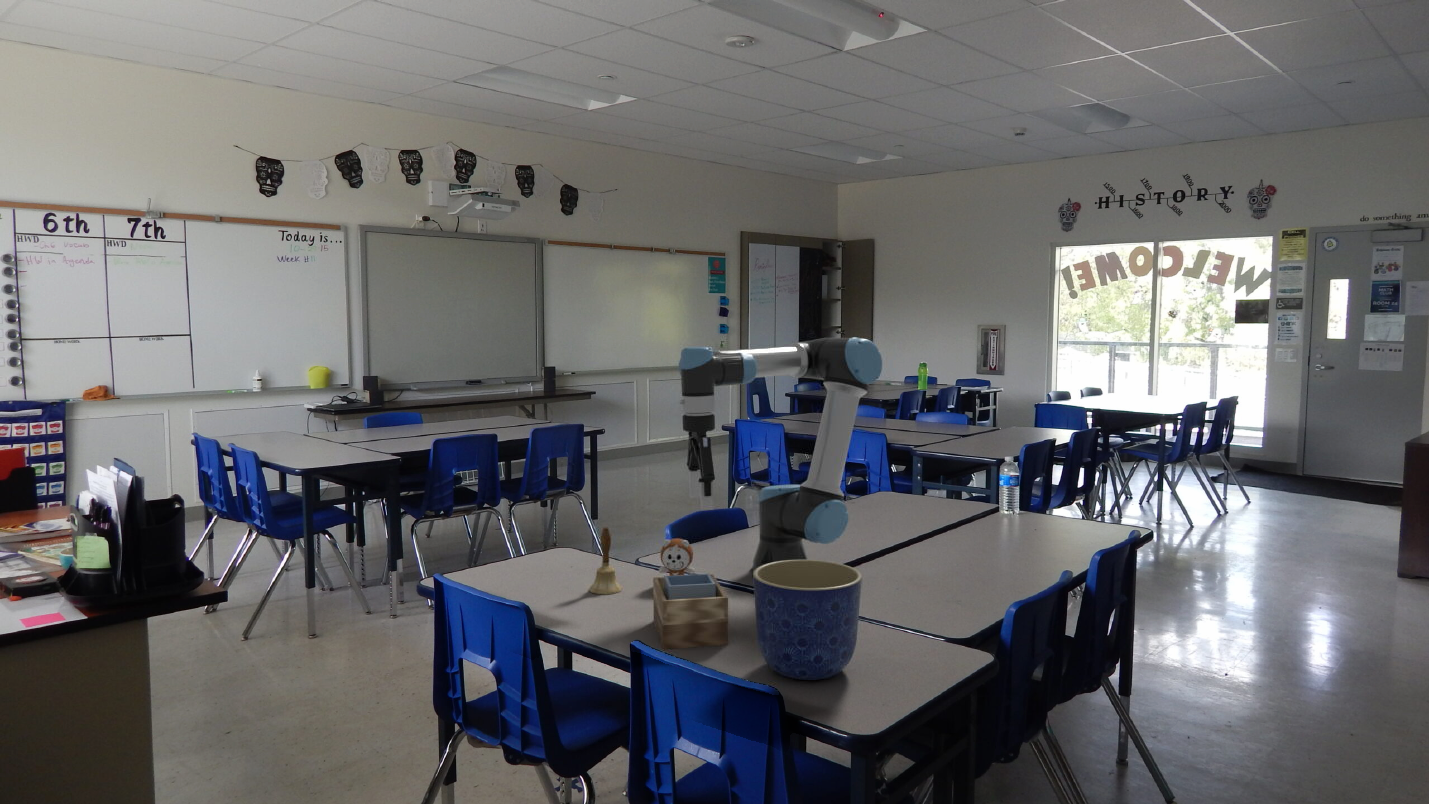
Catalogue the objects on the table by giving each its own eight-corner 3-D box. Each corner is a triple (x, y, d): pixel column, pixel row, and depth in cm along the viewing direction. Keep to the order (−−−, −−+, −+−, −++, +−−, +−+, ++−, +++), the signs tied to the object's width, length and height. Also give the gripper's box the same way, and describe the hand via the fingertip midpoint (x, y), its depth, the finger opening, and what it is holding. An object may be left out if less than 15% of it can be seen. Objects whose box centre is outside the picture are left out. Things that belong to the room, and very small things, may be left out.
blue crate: (709, 600, 197) (709, 573, 196) (715, 611, 189) (715, 583, 189) (664, 602, 195) (664, 576, 195) (668, 614, 187) (668, 586, 187)
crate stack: (713, 617, 202) (713, 574, 201) (728, 644, 185) (728, 597, 184) (653, 621, 200) (653, 577, 199) (663, 648, 183) (662, 601, 182)
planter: (883, 674, 169) (884, 576, 167) (801, 701, 157) (801, 596, 155) (811, 643, 186) (811, 554, 184) (731, 665, 174) (731, 569, 172)
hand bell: (625, 585, 228) (624, 524, 226) (618, 595, 219) (617, 531, 218) (593, 584, 228) (592, 523, 227) (585, 594, 220) (584, 530, 219)
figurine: (655, 590, 223) (655, 543, 222) (661, 580, 232) (661, 535, 231) (692, 591, 222) (691, 544, 221) (696, 581, 231) (696, 536, 230)
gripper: (673, 408, 218) (676, 494, 220) (692, 420, 193) (695, 516, 195) (703, 407, 219) (706, 492, 221) (726, 418, 195) (729, 513, 197)
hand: (701, 503), depth 208 cm, fingers open, 13 cm apart
